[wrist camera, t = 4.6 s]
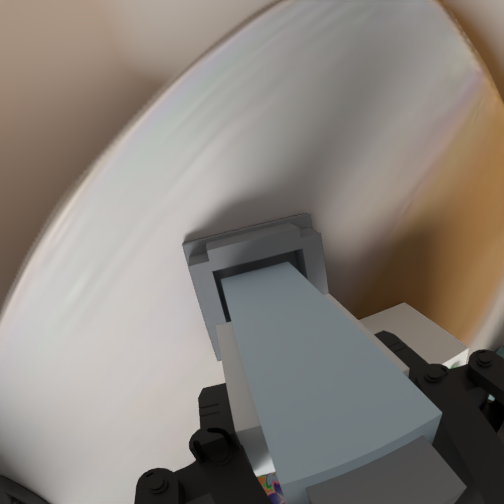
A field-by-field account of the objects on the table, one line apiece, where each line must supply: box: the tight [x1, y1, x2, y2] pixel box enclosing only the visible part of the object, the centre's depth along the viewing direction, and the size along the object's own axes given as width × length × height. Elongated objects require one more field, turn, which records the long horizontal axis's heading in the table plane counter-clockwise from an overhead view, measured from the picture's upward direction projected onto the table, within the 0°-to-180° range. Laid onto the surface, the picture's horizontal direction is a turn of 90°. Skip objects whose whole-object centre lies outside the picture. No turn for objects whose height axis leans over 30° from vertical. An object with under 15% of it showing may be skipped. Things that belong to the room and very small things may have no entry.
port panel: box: [358, 302, 469, 369], centre depth 20 cm, size 10×14×8 cm
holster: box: [182, 213, 329, 361], centre depth 19 cm, size 8×8×2 cm
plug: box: [221, 262, 466, 504], centre depth 11 cm, size 4×4×15 cm
